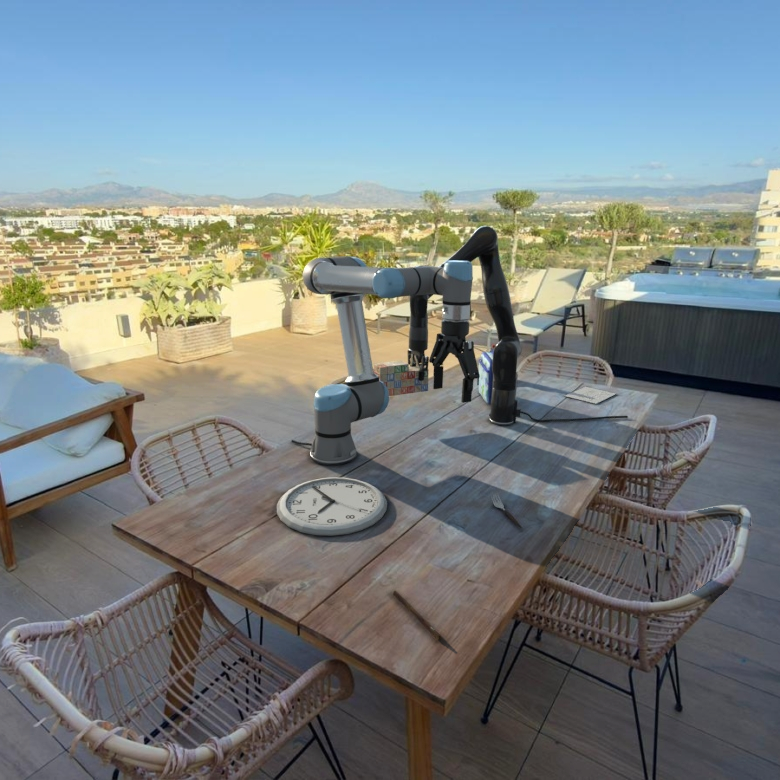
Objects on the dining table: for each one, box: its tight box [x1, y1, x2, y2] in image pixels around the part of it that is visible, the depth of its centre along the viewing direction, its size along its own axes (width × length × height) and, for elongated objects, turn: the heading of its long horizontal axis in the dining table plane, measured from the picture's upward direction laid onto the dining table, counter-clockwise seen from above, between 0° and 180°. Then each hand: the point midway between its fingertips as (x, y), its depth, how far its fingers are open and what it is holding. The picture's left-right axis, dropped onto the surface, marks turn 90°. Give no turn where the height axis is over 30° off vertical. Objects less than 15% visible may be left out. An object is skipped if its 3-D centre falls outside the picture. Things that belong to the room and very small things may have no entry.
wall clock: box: [276, 476, 388, 537], centre depth 142 cm, size 30×2×30 cm
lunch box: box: [476, 349, 494, 406], centre depth 230 cm, size 26×11×21 cm, turn 179°
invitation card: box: [564, 386, 616, 405], centre depth 242 cm, size 21×1×15 cm
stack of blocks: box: [373, 360, 429, 397], centre depth 207 cm, size 21×6×12 cm, turn 115°
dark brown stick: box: [392, 590, 441, 641], centre depth 102 cm, size 15×1×1 cm, turn 34°
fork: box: [489, 492, 523, 529], centre depth 139 cm, size 3×16×2 cm, turn 15°
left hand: (451, 394), depth 147 cm, fingers open, 13 cm apart
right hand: (417, 378), depth 211 cm, fingers closed on stack of blocks, 6 cm apart
